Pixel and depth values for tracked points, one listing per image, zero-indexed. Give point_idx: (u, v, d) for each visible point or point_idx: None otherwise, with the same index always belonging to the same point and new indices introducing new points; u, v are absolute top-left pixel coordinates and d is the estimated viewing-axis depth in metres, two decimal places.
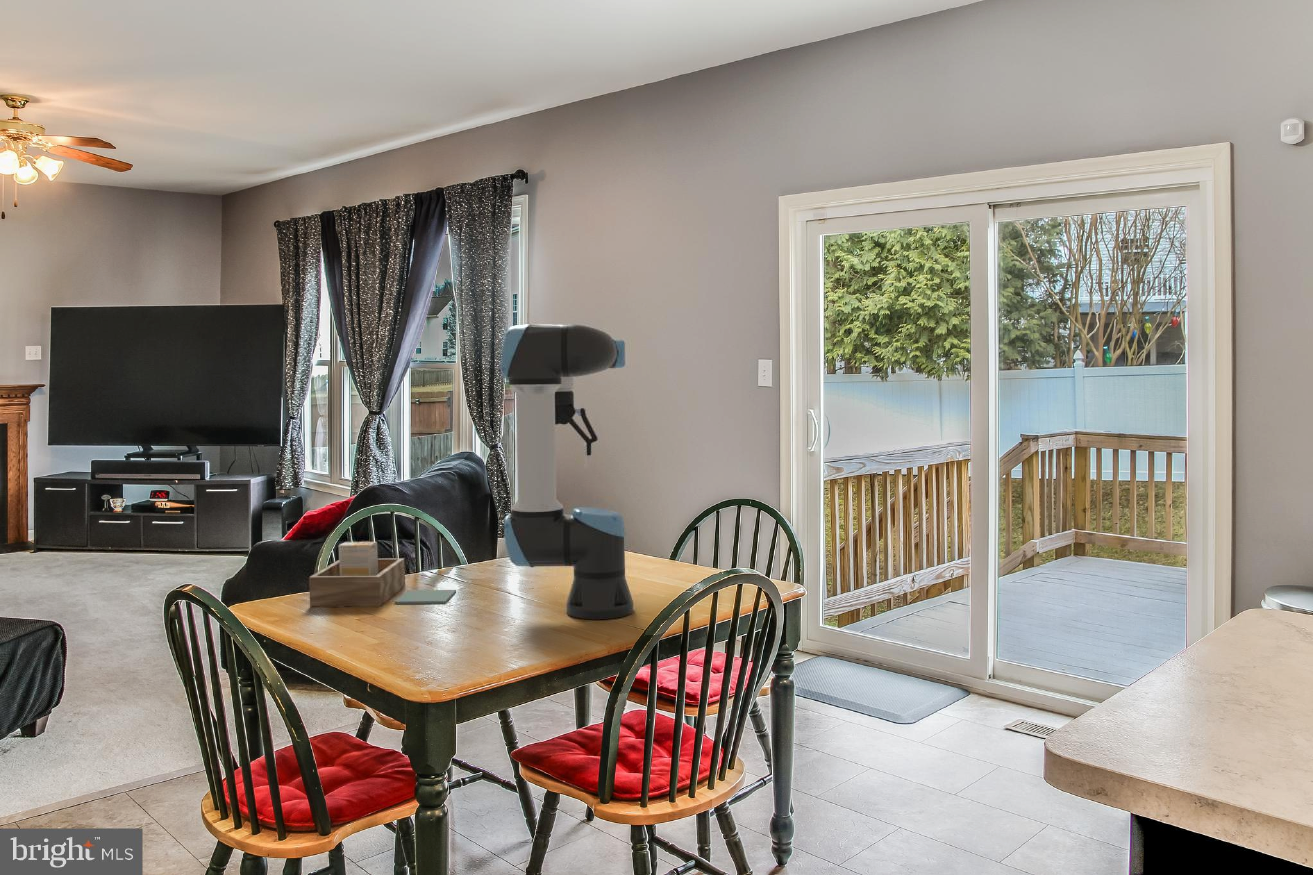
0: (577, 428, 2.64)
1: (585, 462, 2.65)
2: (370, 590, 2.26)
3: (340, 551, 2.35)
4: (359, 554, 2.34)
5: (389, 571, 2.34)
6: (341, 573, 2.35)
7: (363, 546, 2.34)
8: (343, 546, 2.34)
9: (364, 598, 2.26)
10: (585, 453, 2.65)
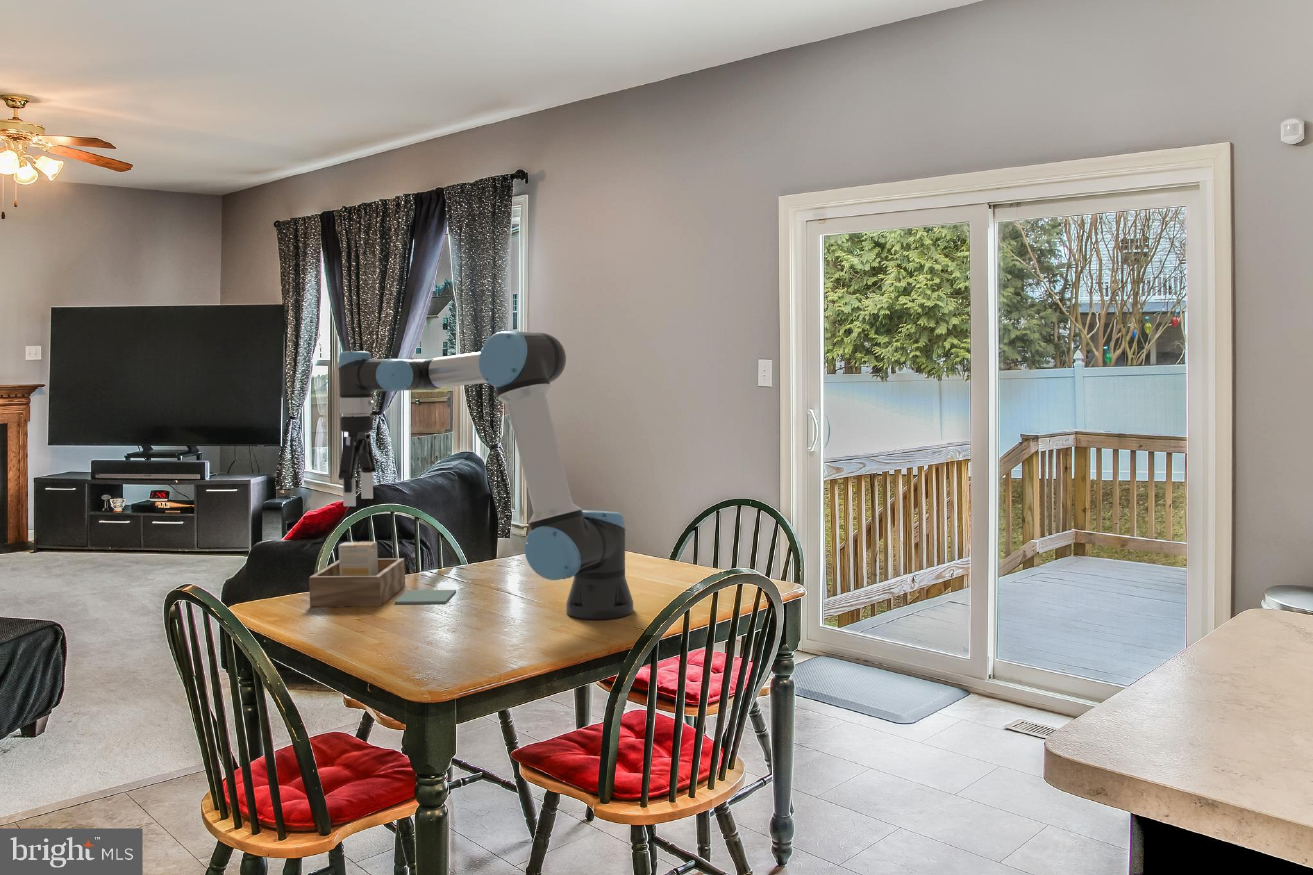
0: None
1: None
2: (370, 590, 2.26)
3: (340, 551, 2.35)
4: (359, 554, 2.34)
5: (389, 571, 2.34)
6: (341, 573, 2.35)
7: (363, 546, 2.34)
8: (343, 546, 2.34)
9: (364, 598, 2.26)
10: None
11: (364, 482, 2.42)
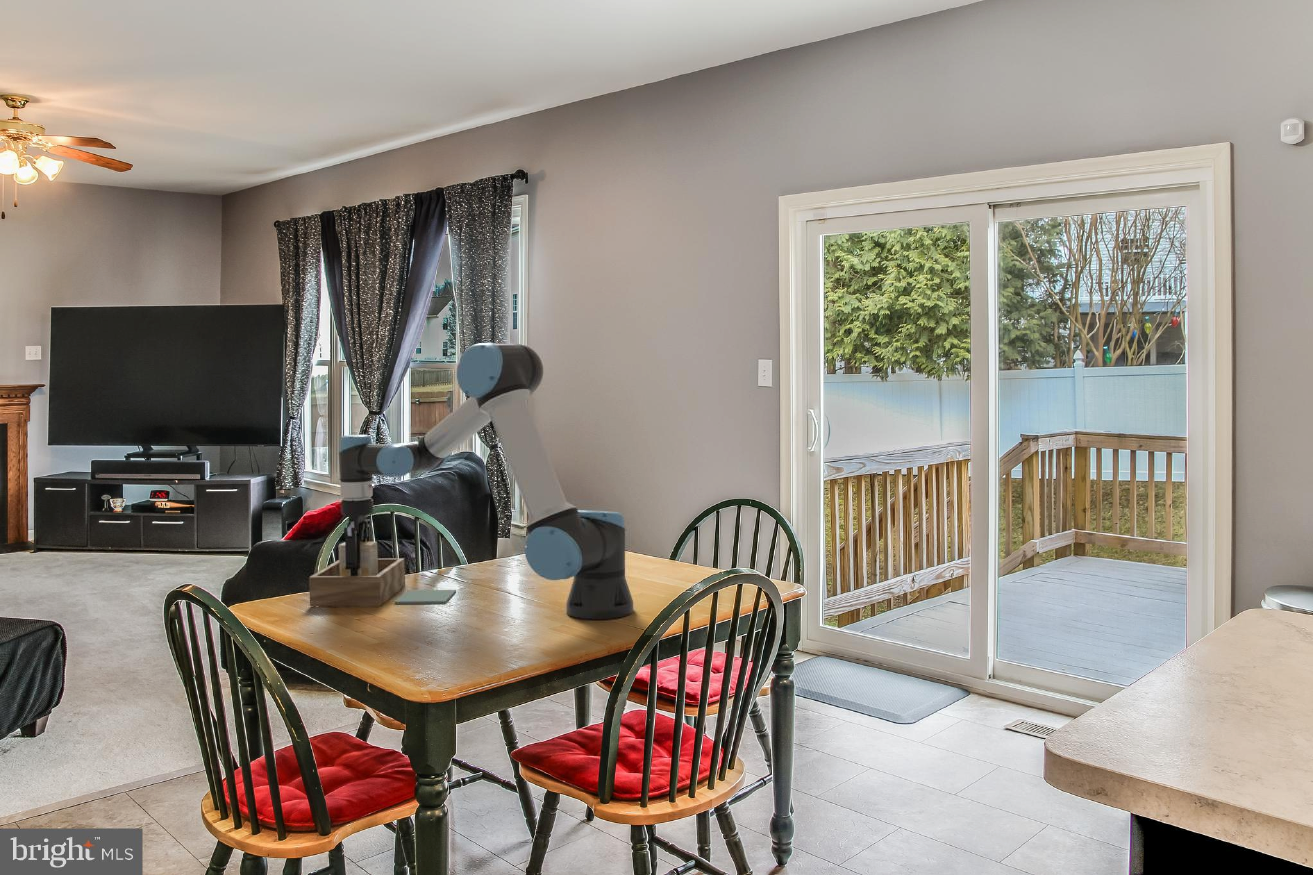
0: None
1: None
2: (370, 590, 2.26)
3: (340, 551, 2.35)
4: None
5: (389, 571, 2.34)
6: (341, 573, 2.35)
7: (363, 546, 2.34)
8: (343, 546, 2.34)
9: (364, 598, 2.26)
10: None
11: None
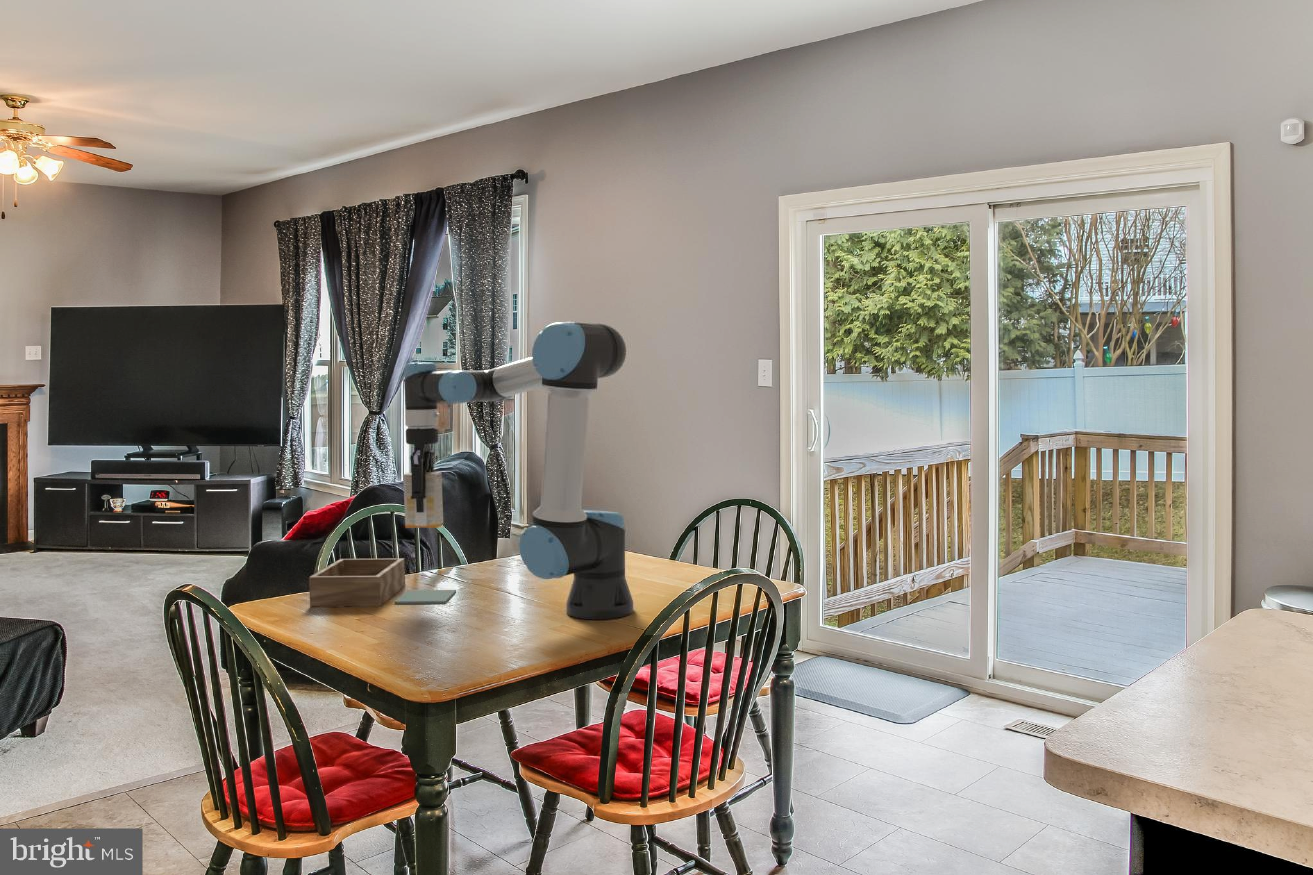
0: None
1: None
2: (370, 590, 2.26)
3: (405, 480, 2.30)
4: None
5: (389, 571, 2.34)
6: (406, 503, 2.31)
7: (428, 475, 2.30)
8: (408, 475, 2.30)
9: (364, 598, 2.26)
10: None
11: None
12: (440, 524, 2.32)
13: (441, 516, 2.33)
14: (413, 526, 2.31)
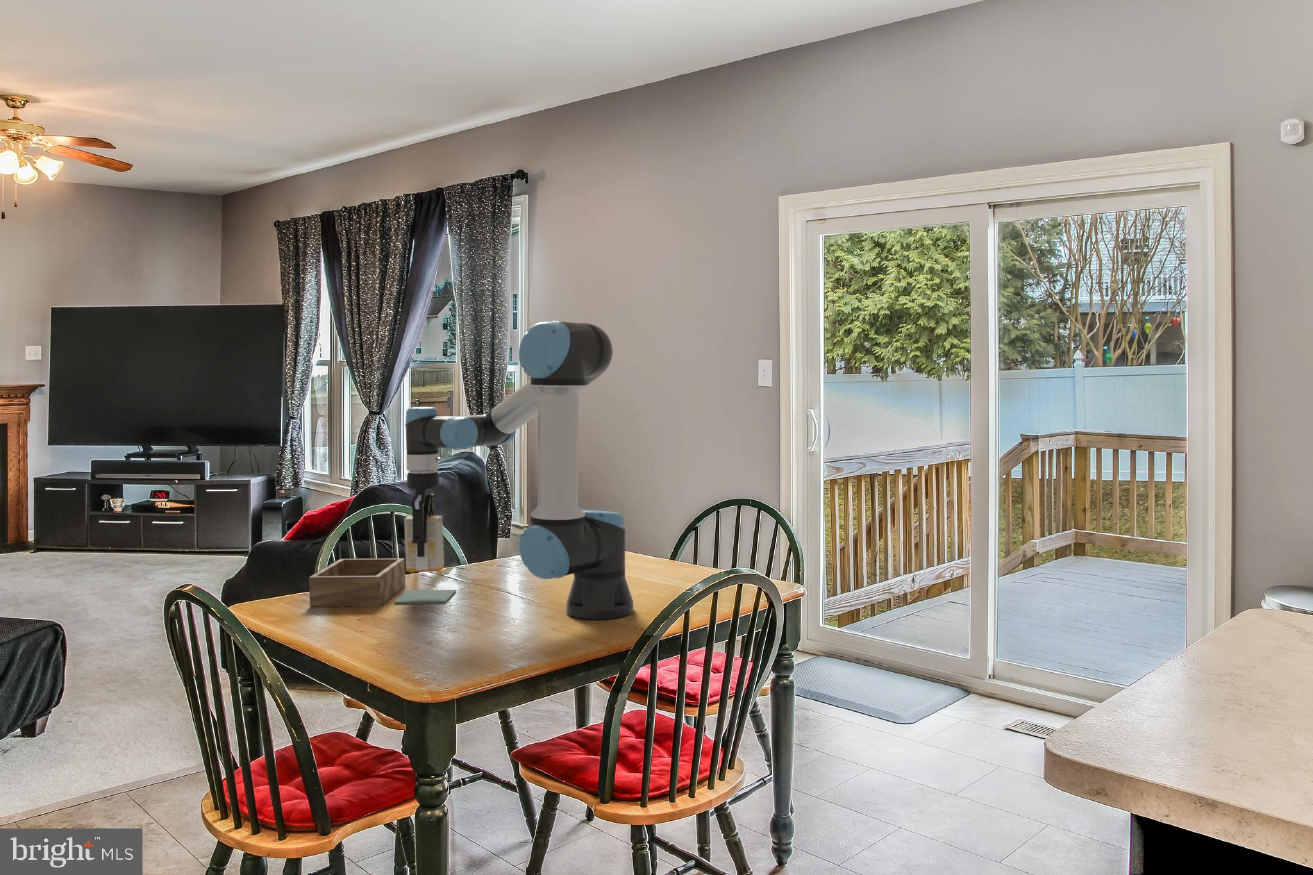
0: None
1: None
2: (370, 590, 2.26)
3: (406, 525, 2.31)
4: None
5: (389, 571, 2.34)
6: (407, 547, 2.31)
7: (429, 519, 2.30)
8: (409, 519, 2.31)
9: (364, 598, 2.26)
10: None
11: None
12: (441, 568, 2.33)
13: (442, 560, 2.34)
14: (414, 570, 2.32)
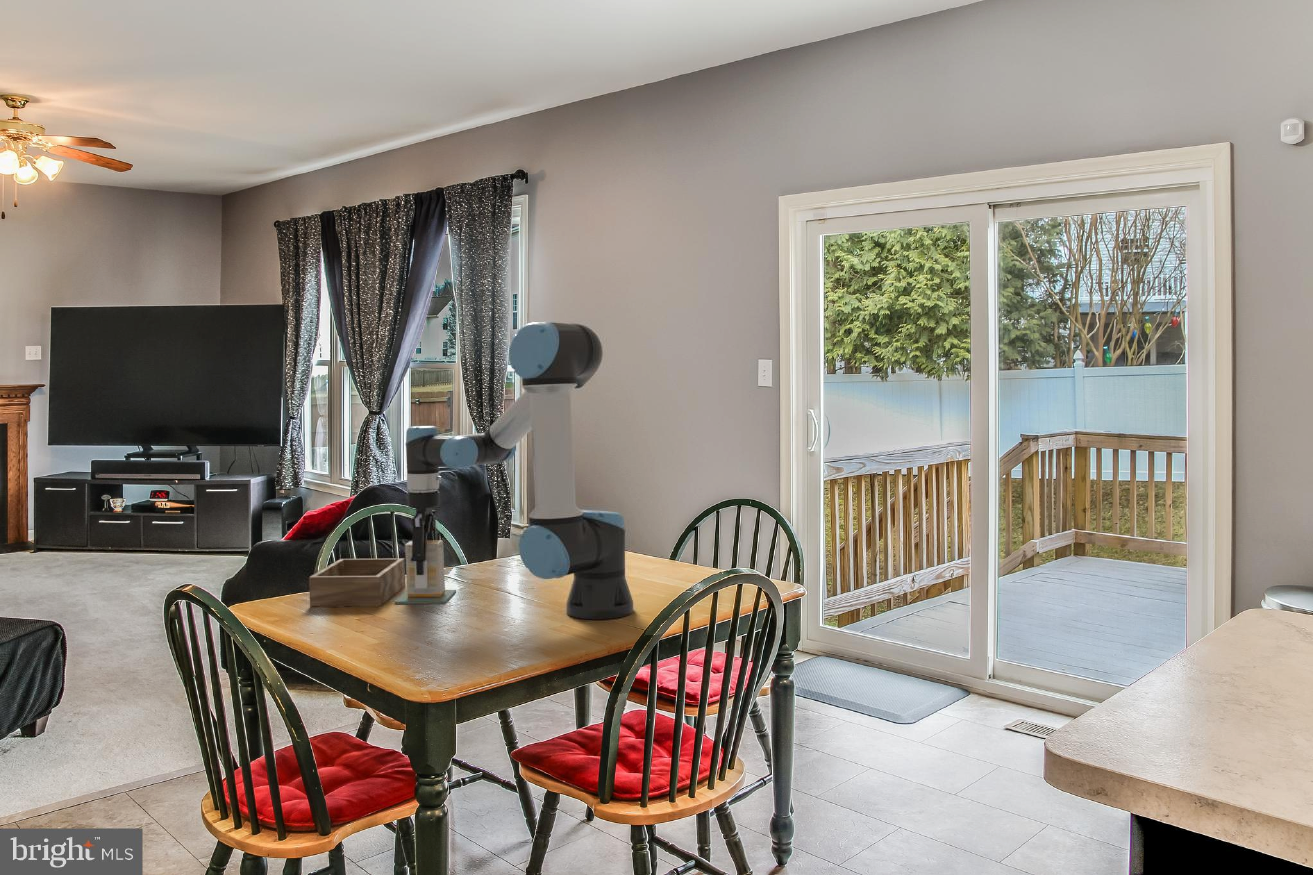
0: None
1: None
2: (370, 590, 2.26)
3: (407, 550, 2.31)
4: (427, 553, 2.31)
5: (389, 571, 2.34)
6: (408, 573, 2.32)
7: (431, 545, 2.31)
8: (410, 545, 2.31)
9: (364, 598, 2.26)
10: None
11: None
12: (442, 592, 2.34)
13: (443, 584, 2.35)
14: (415, 595, 2.32)
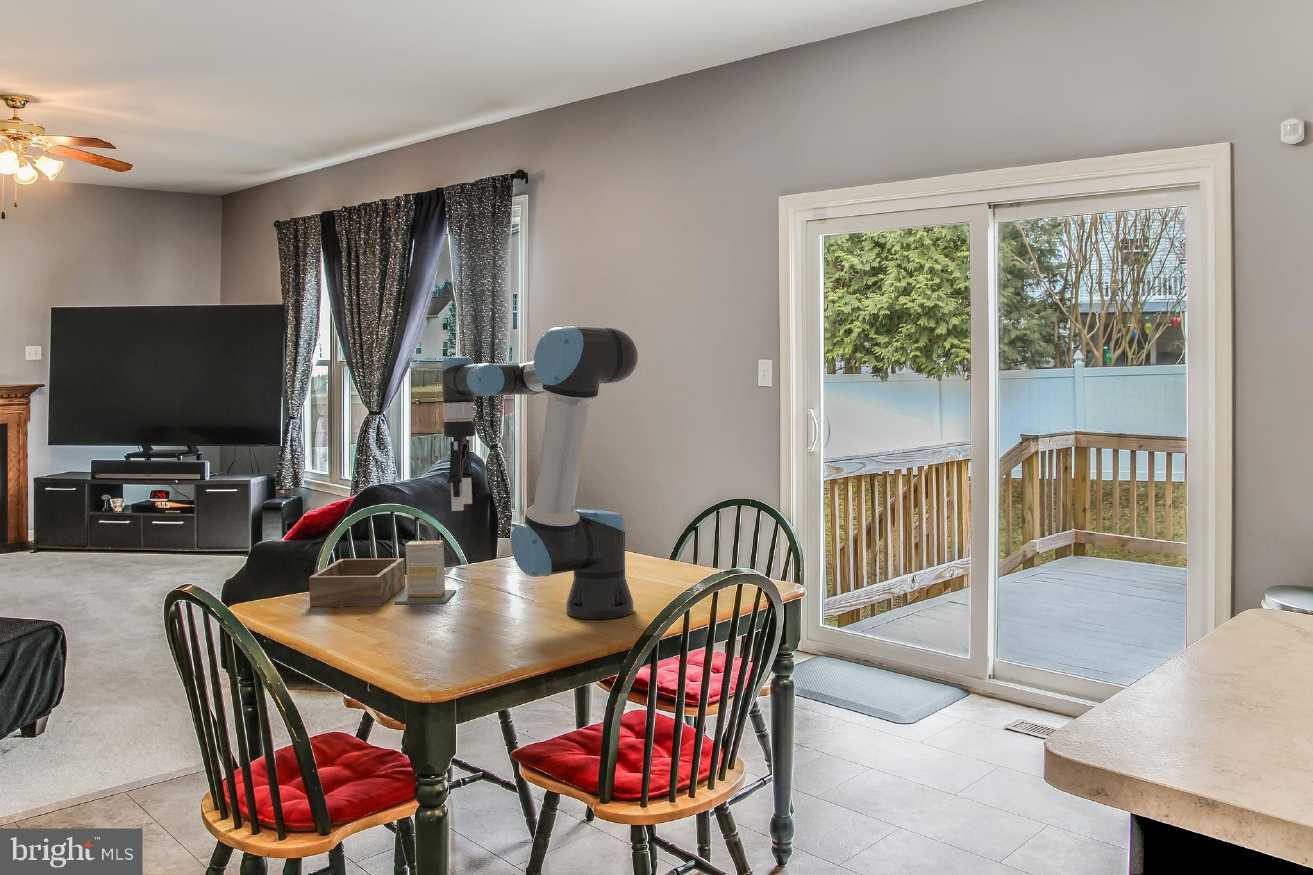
0: None
1: None
2: (370, 590, 2.26)
3: (407, 550, 2.31)
4: (427, 553, 2.31)
5: (389, 571, 2.34)
6: (408, 572, 2.32)
7: (431, 545, 2.31)
8: (410, 545, 2.31)
9: (364, 598, 2.26)
10: None
11: (463, 487, 2.43)
12: (442, 593, 2.34)
13: (443, 585, 2.35)
14: (415, 595, 2.32)
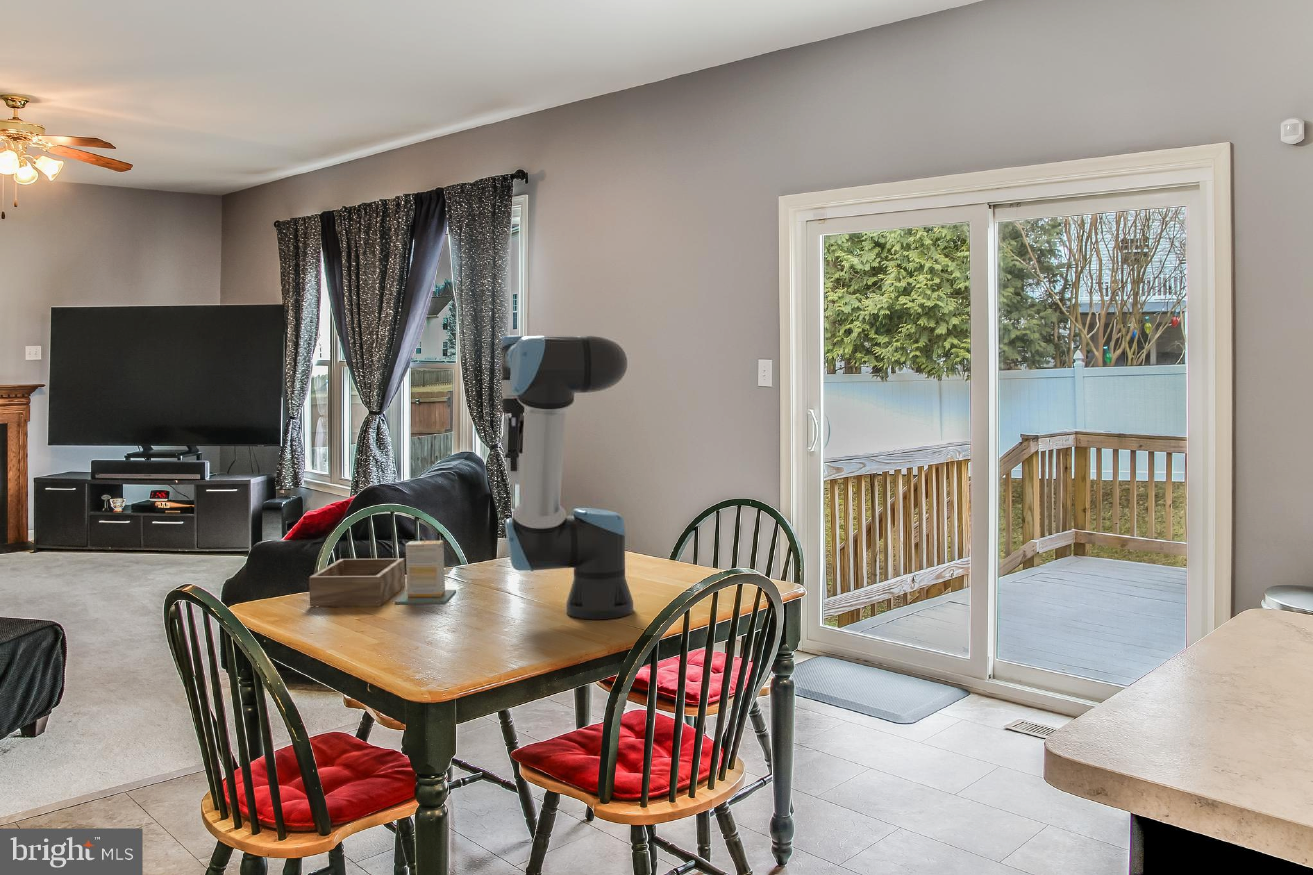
0: None
1: (509, 478, 2.38)
2: (370, 590, 2.26)
3: (407, 550, 2.31)
4: (427, 553, 2.31)
5: (389, 571, 2.34)
6: (408, 572, 2.32)
7: (431, 545, 2.31)
8: (410, 545, 2.31)
9: (364, 598, 2.26)
10: None
11: (520, 462, 2.51)
12: (442, 593, 2.34)
13: (443, 585, 2.35)
14: (415, 595, 2.32)
